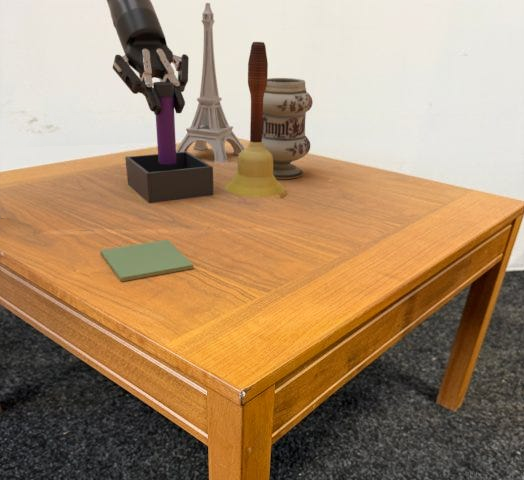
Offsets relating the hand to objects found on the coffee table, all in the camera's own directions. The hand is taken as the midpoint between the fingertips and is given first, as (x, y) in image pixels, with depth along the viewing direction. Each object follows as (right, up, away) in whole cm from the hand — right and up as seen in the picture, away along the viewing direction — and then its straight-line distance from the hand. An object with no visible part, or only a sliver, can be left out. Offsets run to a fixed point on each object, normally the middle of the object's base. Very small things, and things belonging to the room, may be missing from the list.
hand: (169, 110), depth 93 cm
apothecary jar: (+19, -3, +24) cm, 31 cm away
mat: (0, -28, -17) cm, 33 cm away
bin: (-2, -11, +9) cm, 15 cm away
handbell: (+14, -10, +12) cm, 22 cm away
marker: (-1, -7, +6) cm, 9 cm away
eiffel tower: (+4, +4, +35) cm, 35 cm away
